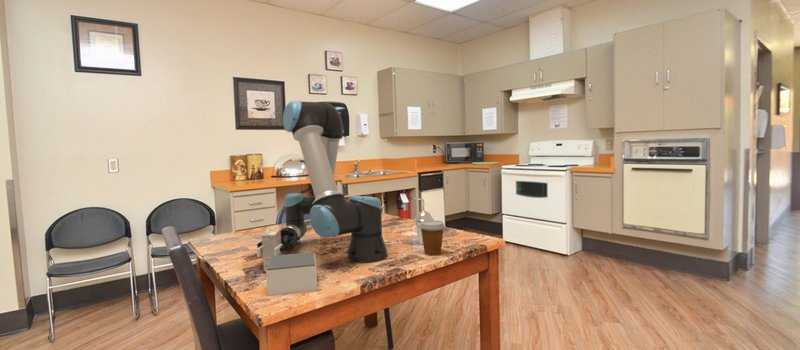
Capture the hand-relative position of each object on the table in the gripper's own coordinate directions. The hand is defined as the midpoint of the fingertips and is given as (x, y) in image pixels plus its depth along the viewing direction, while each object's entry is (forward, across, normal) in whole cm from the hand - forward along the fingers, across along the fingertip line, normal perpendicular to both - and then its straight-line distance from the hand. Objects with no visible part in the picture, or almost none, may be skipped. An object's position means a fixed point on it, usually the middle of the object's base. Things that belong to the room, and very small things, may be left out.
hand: (266, 252), depth 130 cm
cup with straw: (-35, -54, -7) cm, 65 cm away
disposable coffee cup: (-20, -57, -7) cm, 61 cm away
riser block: (+11, -12, -7) cm, 18 cm away
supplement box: (-5, 0, -7) cm, 9 cm away
